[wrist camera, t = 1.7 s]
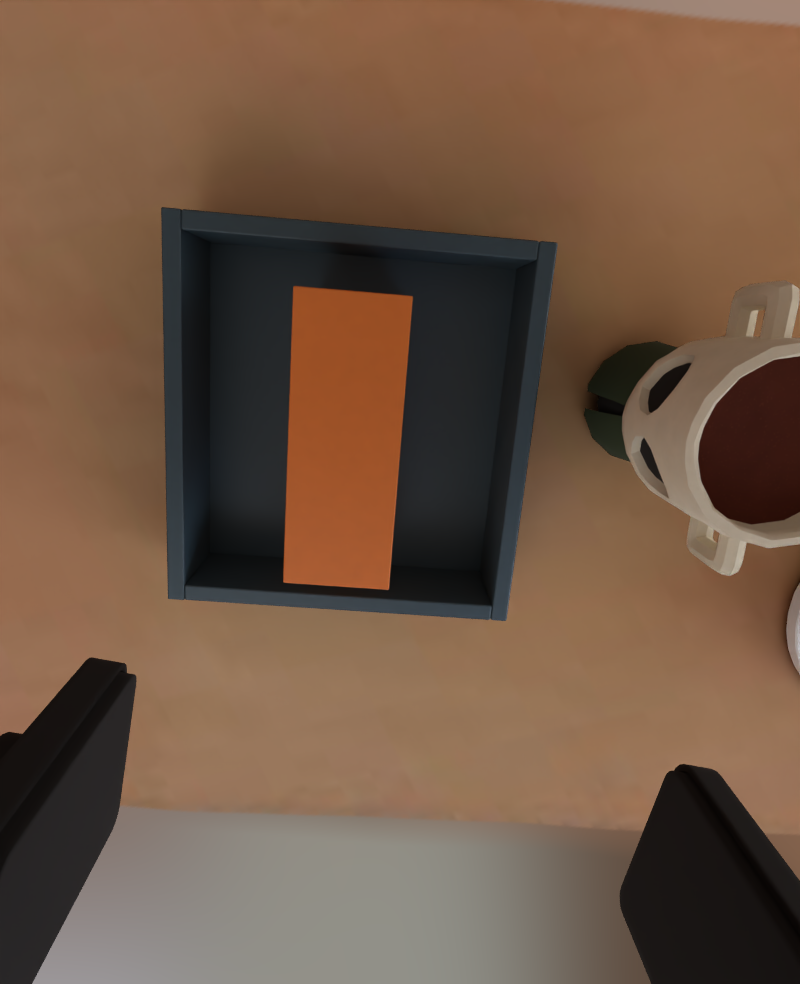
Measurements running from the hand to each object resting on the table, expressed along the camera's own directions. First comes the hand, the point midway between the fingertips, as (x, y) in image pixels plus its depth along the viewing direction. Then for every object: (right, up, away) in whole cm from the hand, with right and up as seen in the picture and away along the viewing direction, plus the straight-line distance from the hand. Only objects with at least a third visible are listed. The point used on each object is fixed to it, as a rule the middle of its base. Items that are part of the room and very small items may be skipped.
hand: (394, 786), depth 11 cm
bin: (-2, +9, +22) cm, 24 cm away
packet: (-2, +9, +22) cm, 24 cm away
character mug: (+13, +10, +23) cm, 28 cm away
